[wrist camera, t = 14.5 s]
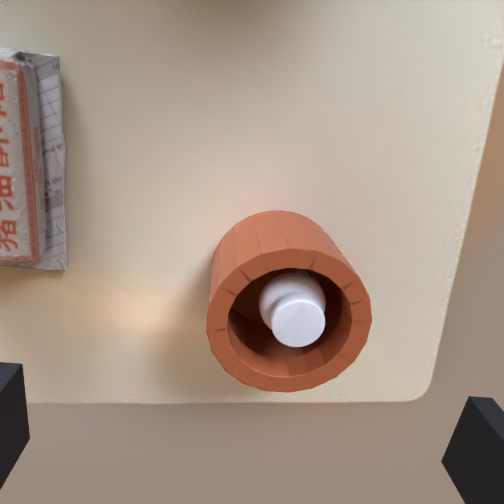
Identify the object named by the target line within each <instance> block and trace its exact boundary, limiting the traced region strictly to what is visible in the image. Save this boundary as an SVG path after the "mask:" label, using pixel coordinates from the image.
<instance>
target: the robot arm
mask: <svg viewBox="0 0 504 504" xmlns="http://www.w3.org/2000/svg"><path fill="white" fill-rule="evenodd" d="M29 439H30V435H29V425H28V415H27V406H26V395H25V386H24V376H23V366H22V364H17V363H3V362H0V489H1V488H2V486H3V484H4V482H5V481H6V479H7V477H8V476H9V474H10V472H11V470H12V469H13V467H14V465H15V463H16V462H17V460H18V458H19V456H20V455H21V453H22V451H23V450H24V448H25V446H26V444H27V443H28V441H29ZM441 462H442V464H443V465H444V467H445V469H446V471H447V472H448V474H449V476H450V478H451V479H452V481H453V483H454V485H455V486H456V488H457V490H458V492H459V493H460V495H461V497H462V498H463V501H464V502H465V504H504V411H503V410H502V409H501V408H500V407H499V406H498V405H497V403H496V402H495V401H494V400H493V399H492V398H485V397H484V398H483V397H471V396H469V397H468V400H467V402H466V404H465V407H464V409H463V412H462V414H461V416H460V418H459V421H458V423H457V426H456V428H455V430H454V433H453V435H452V437H451V440H450V442H449V444H448V447H447V449H446V452H445V454H444V457H443V459H442V461H441Z"/></svg>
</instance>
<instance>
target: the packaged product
mask: <svg viewBox="0 0 504 504" xmlns="http://www.w3.org/2000/svg"><path fill="white" fill-rule="evenodd" d="M65 161H66V145H65V140H64V134H63V129H62V95H61V80H60V65H59V56H52V55H46V54H40V53H34V52H28V51H22V50H16V49H9V48H2V47H0V266H10V267H22V268H31V269H45V270H55V269H56V270H62V271H65V270H66V268H67V267H68V255H67V231H66V221H65Z"/></svg>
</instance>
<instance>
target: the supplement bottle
mask: <svg viewBox="0 0 504 504" xmlns="http://www.w3.org/2000/svg"><path fill="white" fill-rule="evenodd" d="M255 284H256V291H257V298H258V304H259V310H260V314H261V317H262V319H263V321H264V322H265V324H266V325H267V326H268V327H269V328H270V329H272V332H273V334H274V336H275V337H276V338H277V340H278V341H280V342H281V343H283V344H284V345H287V346H290V347H302V346H306V345H309V344H311V343H313V342H314V341H315V340H317V339H318V338H319V337H320V335H321V334H322V332H323V330H324V327H325V317H324V312H325V307H326V300H325V295H324V292H323V290H322V288H321V286H320V284H319V282H318V280H317V278H316V276H315V274H314V272H313V271H312V270H310V269H299V268H284V269H279V270H274V271H270V272H268V273H266V274H264V275H262V276H260V277H258V278H256V279H255Z"/></svg>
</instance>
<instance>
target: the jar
mask: <svg viewBox="0 0 504 504" xmlns="http://www.w3.org/2000/svg"><path fill="white" fill-rule="evenodd" d="M284 268H299V269H310V270H312V271H313V272H314V274H315V276H316V278H317V280H318V282H319V284H320V286H321V288H322V290H323V292H324V295H325V300H326V307H325V312H324V317H325V327H324V330H323V332H322V334H321V335H320V337H319V338H318V339H317V340H315V341H314V342H313V343H311V344H309V345H306V346H302V347H290V346H287V345H284V344H283V343H281V342H280V341H278V340H277V338H276V337H275V336H274V334H273V332H272V329H270V328H269V327H268V326H267V325H266V324H265V322H264V321H263V319H262V317H261V314H260V310H259V304H258V298H257V291H256V284H255V279H256V278H258V277H260V276H262V275H264V274H266V273H268V272H270V271H274V270H279V269H284ZM371 322H372V316H371V306H370V298H369V295H368V293H367V291H366V289H365V287H364V285H363V283H362V281H361V279H360V278H359V276H358V275H357V273H356V272H355V271H354V269H353V268H352V267H351V265H350V264H349V262H348V261H347V260H346V258H345V257H344V256H343V254H342V253H341V252H340V250H339V249H338V248H337V246H336V245H335V243H334V242H333V241H332V239H331V238H330V237H329V235H328V234H327V233H326V232H324V230H323V229H322V228H321V227H320V226H319V225H317V224H316V223H315V222H313V221H312V220H310V219H308V218H307V217H304V216H302V215H300V214H296V213H293V212H287V211H267V212H262V213H258V214H255V215H252V216H250V217H248V218H246V219H244V220H242V221H241V222H239V223H238V224H236V225H235V226H234V227H233V228H232V229H231V230H229V231H228V232H227V234H226V235H225V236H224V237H223V239H222V240H221V242H220V244H219V245H218V248H217V250H216V252H215V256H214V258H213V264H212V274H211V284H210V294H209V304H208V315H207V326H206V332H207V335H208V339H209V343H210V346H211V350H212V353H213V354H214V356H215V357H216V358H217V360H218V361H219V362H220V364H221V365H222V367H223V368H224V369H225V370H226V371H227V372H228V373H230V374H231V375H232V376H234V377H235V378H237V379H238V380H239V381H241V382H242V383H244V384H247V385H250V386H252V387H255V388H258V389H261V390H264V391H274V392H296V391H301V390H306V389H311V388H314V387H317V386H319V385H321V384H323V383H325V382H327V381H329V380H331V379H333V378H335V377H337V376H338V375H339V374H340V373H342V372H343V371H344V370H345V369H346V368H347V367H348V366H350V365H351V364H352V363H353V362H354V361H355V359H356V358H357V356H358V355H359V353H360V352H361V350H362V348H363V347H364V345H365V344H366V341H367V338H368V334H369V330H370V326H371Z"/></svg>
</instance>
